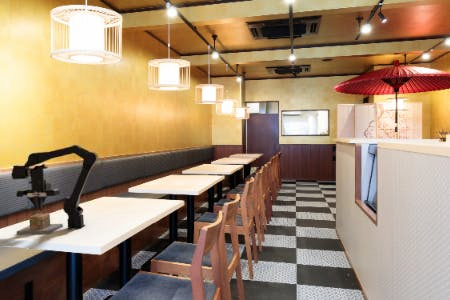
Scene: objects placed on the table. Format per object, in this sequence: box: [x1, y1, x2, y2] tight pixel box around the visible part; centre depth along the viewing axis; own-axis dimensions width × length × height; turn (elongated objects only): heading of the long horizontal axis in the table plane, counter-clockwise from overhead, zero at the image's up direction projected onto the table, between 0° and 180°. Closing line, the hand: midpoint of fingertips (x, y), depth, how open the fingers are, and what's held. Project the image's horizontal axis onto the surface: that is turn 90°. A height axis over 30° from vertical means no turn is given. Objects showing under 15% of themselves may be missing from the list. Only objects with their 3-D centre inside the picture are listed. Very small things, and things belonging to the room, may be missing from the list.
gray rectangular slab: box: [16, 223, 64, 235], centre depth 166 cm, size 16×12×2 cm
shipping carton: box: [28, 213, 51, 229], centre depth 166 cm, size 6×6×6 cm
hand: (39, 210), depth 166 cm, fingers closed
